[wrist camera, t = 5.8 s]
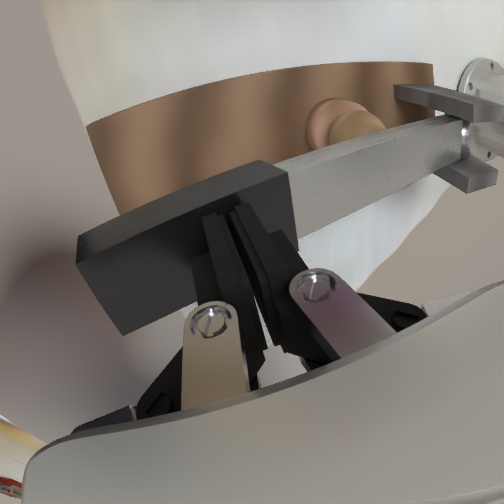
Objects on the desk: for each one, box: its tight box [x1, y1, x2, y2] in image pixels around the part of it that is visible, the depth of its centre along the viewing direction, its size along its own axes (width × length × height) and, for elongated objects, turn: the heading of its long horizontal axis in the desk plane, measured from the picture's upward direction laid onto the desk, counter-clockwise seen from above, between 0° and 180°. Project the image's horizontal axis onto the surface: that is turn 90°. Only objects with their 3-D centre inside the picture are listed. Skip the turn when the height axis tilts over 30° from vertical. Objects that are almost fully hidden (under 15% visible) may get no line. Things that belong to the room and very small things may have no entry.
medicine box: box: [0, 477, 22, 499], centre depth 61 cm, size 15×8×8 cm, turn 109°
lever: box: [76, 113, 472, 336], centre depth 14 cm, size 25×4×2 cm, turn 102°
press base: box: [86, 62, 503, 215], centre depth 18 cm, size 28×10×10 cm, turn 102°
